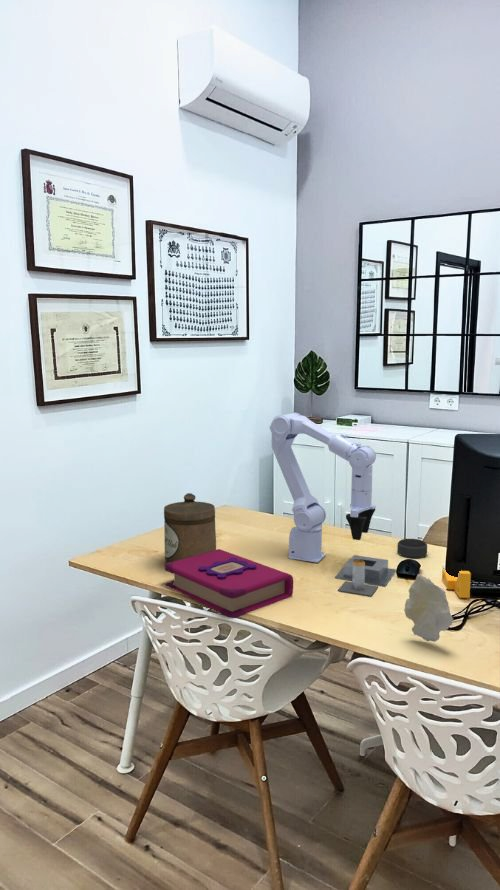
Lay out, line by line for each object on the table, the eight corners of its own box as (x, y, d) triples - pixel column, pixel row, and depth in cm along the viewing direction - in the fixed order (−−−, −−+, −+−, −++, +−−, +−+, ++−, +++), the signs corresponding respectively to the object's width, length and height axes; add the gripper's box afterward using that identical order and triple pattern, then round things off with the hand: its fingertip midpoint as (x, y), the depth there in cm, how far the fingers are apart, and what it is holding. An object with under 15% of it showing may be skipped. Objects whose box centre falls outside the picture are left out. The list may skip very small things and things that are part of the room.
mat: (337, 591, 170) (337, 589, 170) (345, 582, 176) (345, 581, 176) (371, 597, 166) (371, 595, 166) (378, 587, 173) (378, 586, 173)
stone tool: (454, 644, 140) (458, 578, 138) (448, 650, 137) (451, 583, 135) (407, 630, 147) (410, 567, 144) (400, 636, 144) (403, 571, 142)
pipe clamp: (441, 580, 178) (442, 558, 177) (457, 580, 178) (459, 558, 177) (452, 597, 167) (453, 573, 166) (469, 597, 166) (470, 573, 165)
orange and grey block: (352, 586, 172) (352, 559, 171) (361, 586, 173) (362, 559, 172) (354, 590, 170) (355, 562, 169) (364, 589, 170) (364, 562, 169)
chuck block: (334, 578, 179) (335, 566, 179) (348, 564, 191) (348, 552, 190) (385, 586, 173) (385, 573, 173) (396, 571, 185) (396, 559, 184)
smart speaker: (416, 549, 206) (416, 536, 205) (432, 557, 197) (433, 545, 197) (391, 551, 203) (392, 539, 202) (407, 560, 195) (407, 547, 194)
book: (223, 570, 187) (222, 545, 186) (293, 598, 167) (293, 570, 165) (162, 589, 173) (162, 561, 172) (232, 622, 153) (231, 591, 151)
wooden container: (165, 560, 195) (164, 488, 191) (214, 558, 196) (214, 487, 193) (164, 578, 180) (162, 500, 177) (217, 575, 182) (217, 499, 178)
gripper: (368, 496, 175) (367, 544, 177) (381, 485, 188) (380, 530, 190) (343, 493, 178) (342, 541, 180) (358, 483, 191) (356, 528, 193)
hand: (360, 535), depth 185 cm, fingers open, 7 cm apart
